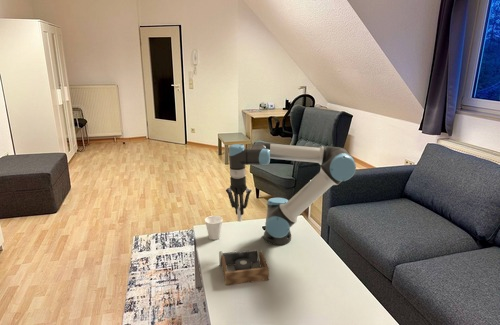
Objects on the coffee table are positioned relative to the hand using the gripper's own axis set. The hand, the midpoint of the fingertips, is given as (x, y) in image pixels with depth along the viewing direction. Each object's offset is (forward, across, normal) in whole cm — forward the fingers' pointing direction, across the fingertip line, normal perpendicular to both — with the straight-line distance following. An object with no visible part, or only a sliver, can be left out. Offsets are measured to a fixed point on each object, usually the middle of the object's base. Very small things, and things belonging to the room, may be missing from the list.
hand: (240, 220), depth 175 cm
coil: (+17, +6, -16) cm, 24 cm away
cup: (+17, -18, +8) cm, 26 cm away
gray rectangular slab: (+17, +3, -12) cm, 21 cm away
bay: (+17, +8, -19) cm, 27 cm away
